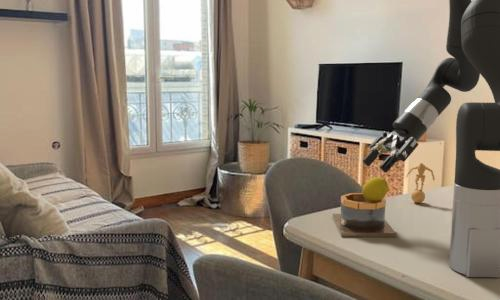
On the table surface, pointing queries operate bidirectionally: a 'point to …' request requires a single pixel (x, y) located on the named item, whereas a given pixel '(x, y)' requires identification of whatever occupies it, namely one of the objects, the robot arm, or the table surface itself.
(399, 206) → the table surface
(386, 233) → the pot on wooden stand
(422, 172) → the figurine
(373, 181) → the lemon
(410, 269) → the table surface
